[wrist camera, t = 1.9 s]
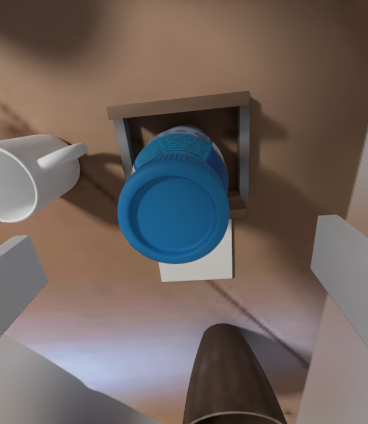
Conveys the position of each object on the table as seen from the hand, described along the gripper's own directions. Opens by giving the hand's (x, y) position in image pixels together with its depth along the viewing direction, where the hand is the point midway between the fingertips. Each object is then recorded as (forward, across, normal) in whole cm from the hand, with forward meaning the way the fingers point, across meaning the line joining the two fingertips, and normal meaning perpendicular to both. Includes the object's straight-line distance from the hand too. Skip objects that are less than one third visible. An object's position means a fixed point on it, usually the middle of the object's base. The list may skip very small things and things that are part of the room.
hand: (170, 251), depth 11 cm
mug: (+23, -17, +1) cm, 29 cm away
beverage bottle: (+23, 0, 0) cm, 23 cm away
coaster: (+23, 0, -15) cm, 27 cm away
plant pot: (+23, +4, -36) cm, 43 cm away
